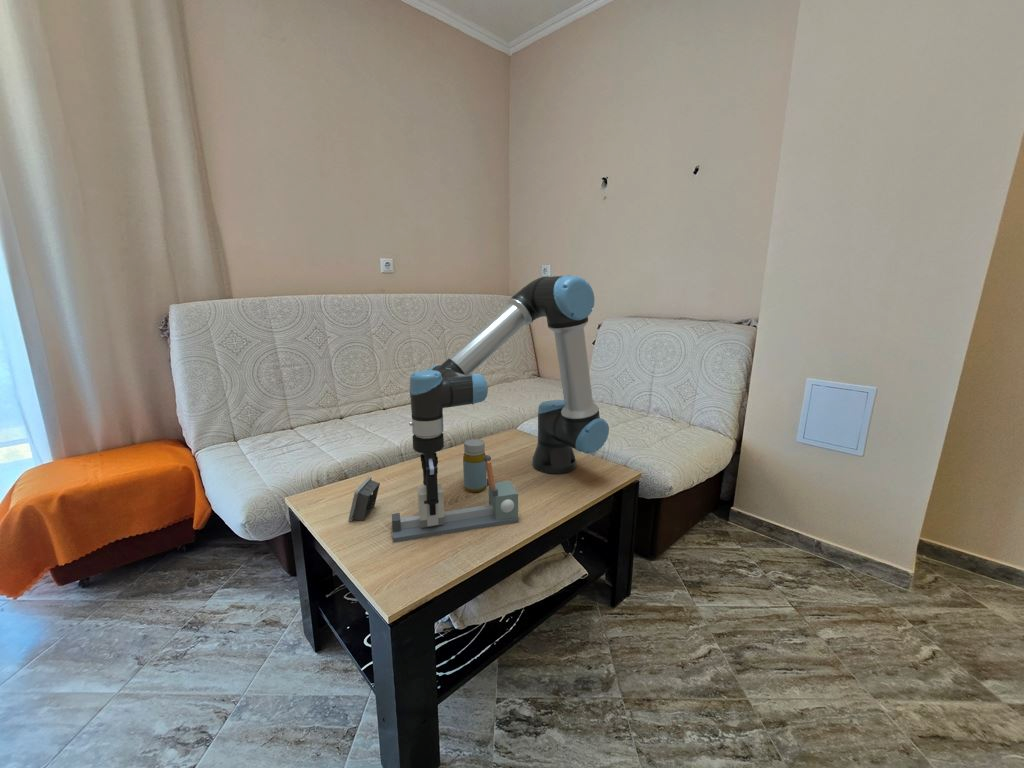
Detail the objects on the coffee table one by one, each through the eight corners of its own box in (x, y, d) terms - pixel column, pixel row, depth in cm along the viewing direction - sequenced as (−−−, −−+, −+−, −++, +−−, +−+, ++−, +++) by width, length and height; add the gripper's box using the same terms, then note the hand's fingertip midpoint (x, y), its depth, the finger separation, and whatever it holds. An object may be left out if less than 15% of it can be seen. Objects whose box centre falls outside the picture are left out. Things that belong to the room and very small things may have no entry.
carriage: (442, 514, 111) (440, 483, 109) (444, 524, 106) (443, 491, 104) (419, 517, 109) (417, 486, 107) (420, 527, 105) (419, 495, 103)
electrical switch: (362, 504, 119) (363, 474, 117) (380, 506, 119) (381, 477, 117) (347, 522, 110) (348, 490, 108) (367, 525, 110) (367, 493, 108)
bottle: (483, 494, 125) (482, 447, 122) (460, 492, 127) (459, 445, 123) (488, 483, 132) (488, 439, 129) (467, 481, 133) (466, 437, 130)
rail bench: (509, 505, 119) (509, 474, 117) (518, 522, 110) (518, 488, 108) (392, 523, 110) (390, 489, 108) (393, 542, 101) (390, 506, 99)
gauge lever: (493, 482, 113) (488, 451, 111) (497, 489, 109) (492, 457, 107) (486, 484, 113) (481, 453, 110) (490, 491, 109) (485, 459, 106)
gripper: (410, 423, 110) (414, 504, 115) (414, 448, 93) (419, 541, 98) (438, 421, 112) (441, 500, 117) (448, 444, 95) (451, 535, 100)
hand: (431, 518), depth 108 cm, fingers closed on carriage, 5 cm apart
